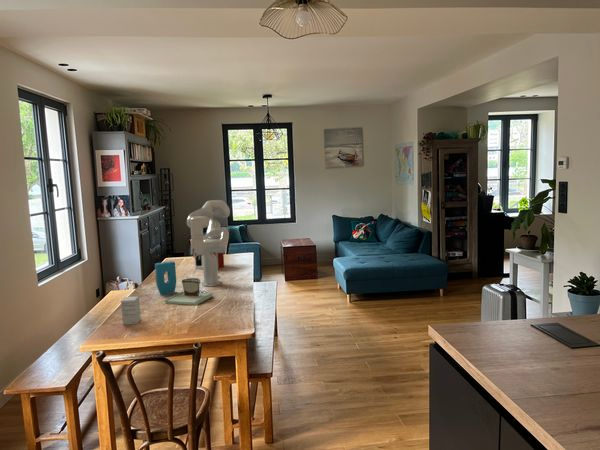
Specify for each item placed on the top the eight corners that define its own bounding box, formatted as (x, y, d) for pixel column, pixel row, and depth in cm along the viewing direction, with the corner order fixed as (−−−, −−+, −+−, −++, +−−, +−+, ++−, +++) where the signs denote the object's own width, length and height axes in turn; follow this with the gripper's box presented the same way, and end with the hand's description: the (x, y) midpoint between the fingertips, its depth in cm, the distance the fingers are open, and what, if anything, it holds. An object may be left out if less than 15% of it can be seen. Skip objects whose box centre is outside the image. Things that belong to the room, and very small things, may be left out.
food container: (205, 293, 274) (204, 278, 273) (200, 296, 268) (199, 280, 267) (187, 293, 278) (186, 277, 277) (182, 295, 272) (181, 279, 271)
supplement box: (126, 320, 233) (124, 296, 232) (141, 319, 234) (139, 296, 232) (122, 324, 226) (120, 300, 224) (137, 323, 226) (135, 299, 225)
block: (158, 295, 280) (156, 264, 278) (156, 294, 284) (154, 263, 282) (177, 292, 286) (175, 262, 284) (175, 290, 291) (173, 261, 288)
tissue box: (224, 266, 365) (223, 234, 362) (209, 270, 350) (207, 237, 347) (210, 265, 373) (208, 233, 370) (194, 269, 359) (192, 236, 356)
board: (182, 294, 280) (182, 291, 280) (212, 296, 274) (212, 292, 274) (165, 303, 262) (165, 299, 262) (196, 305, 256) (196, 301, 256)
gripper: (198, 235, 285) (199, 263, 287) (185, 238, 271) (187, 267, 273) (208, 235, 283) (210, 263, 285) (196, 238, 269) (198, 268, 271)
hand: (199, 265), depth 279 cm, fingers closed
